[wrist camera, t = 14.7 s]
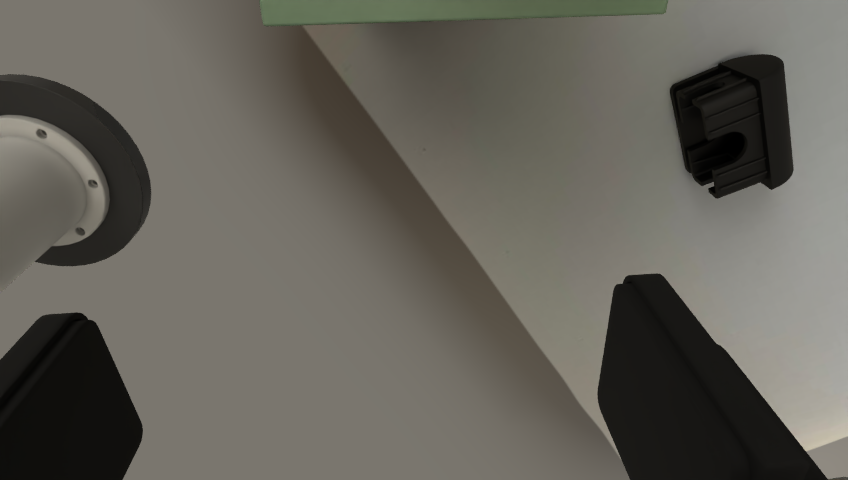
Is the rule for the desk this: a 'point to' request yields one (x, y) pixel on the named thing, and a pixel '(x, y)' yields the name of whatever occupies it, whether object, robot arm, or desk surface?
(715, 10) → the desk surface
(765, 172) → the end cap
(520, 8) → the green storage bin
